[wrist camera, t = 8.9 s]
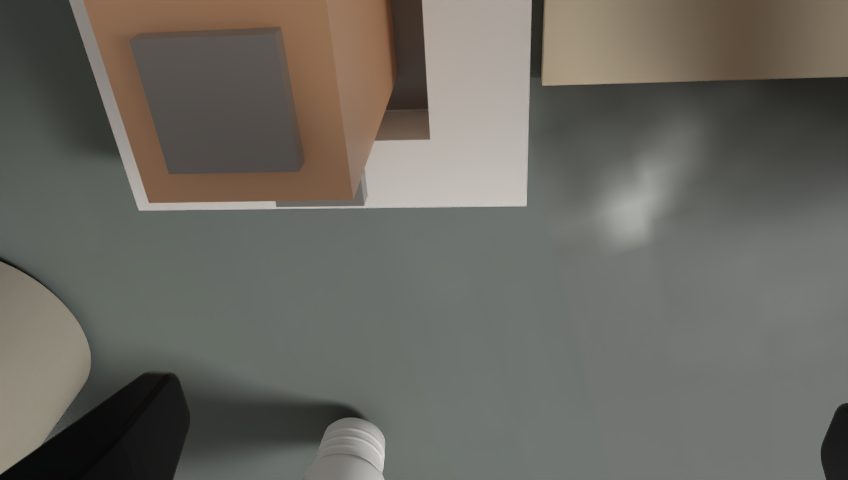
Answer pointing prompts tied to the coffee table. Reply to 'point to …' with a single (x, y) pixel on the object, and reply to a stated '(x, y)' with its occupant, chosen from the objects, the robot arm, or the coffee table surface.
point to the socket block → (417, 112)
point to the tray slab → (692, 40)
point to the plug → (248, 93)
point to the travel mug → (35, 363)
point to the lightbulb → (349, 452)
